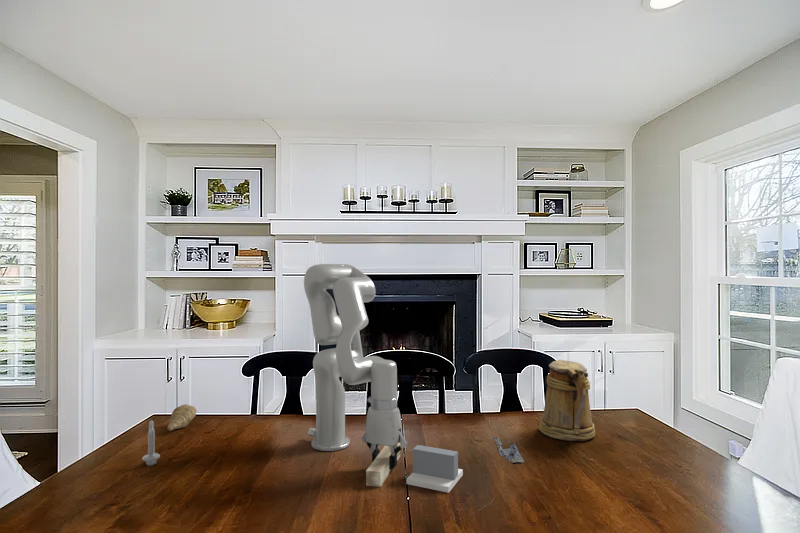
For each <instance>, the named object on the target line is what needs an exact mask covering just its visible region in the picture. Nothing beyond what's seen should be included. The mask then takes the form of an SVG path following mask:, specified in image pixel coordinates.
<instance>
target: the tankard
mask: <svg viewBox="0 0 800 533" xmlns="http://www.w3.org/2000/svg"><path fill="white" fill-rule="evenodd" d="M548 367H549V373H548V374H547V376H546V385H547V386H546V393H545V400H544V406H543V414H542V417H541V419H540V422H539V426H538V430H539V431H540V432H541V433H542V434H543V435H544V436H547V437H549V438H552V439H556V440H560V441H565V442H585V441H588V440H591V439H593V438H594V437H595V436H596V428H595V424H594V423H593V421H592V420H593V419H592V413H591V406H590V405H591V404H590V398H589V396H590V395H589V390H590V389H591V385H590V384H591V383H590V381H589V378H588V377H589V373H588V372H587V371H588V369H587V368H586V366H584V364H582V363H580V362H577V361H570V360H566V359H565V360H563V359H557V360H554V361H552V362H550V364H548Z"/></svg>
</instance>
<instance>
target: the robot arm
mask: <svg viewBox="0 0 800 533" xmlns="http://www.w3.org/2000/svg"><path fill="white" fill-rule="evenodd" d="M303 288H304V292H305V296H306V299H307V302H308V304H309V309H310V317H311V323H312V326H311V327H312V332H313V336H314V340H315V342H316V344H318V345H320V346H329V345H330V346H331V345H336V347H333V348H327V349H323V350H321V351H319V352H317V353H316V354H315V355H314V356H313V360H312V367H313V368H312V369H313V373H314V374H313V375H314V379H315V398H316V399H315V409H316V410H315V420H316V421H315V428H313V427H309V428H308V431H307V436H308V437H312V438H313V439H312V440H311V442H310V443H311V448H313V449H315V450H318V451H322V452H334V451H339V450H343V449H345V448H347V447H349V445H350V443H351V442H350V440H351V439H350V438H349V437H348V436H346V390H345V386H344V385H343V383H342V382H341V380H343V382H344V383H345V384H347V385H349V386H355V385H360V384H364V383H365V384H366V383H370V384H371V385H370V391H371V392H370V394H371V395H370V397H368V398H367V402H368V403H370V406H369V407H368V410H367V414H366V419H365V420H366V423H365V433H364V434H363V435H362V437H361V439H362V441H363V442H364V443H365V444H366V446H367V447H368V449H369V450H370V452H371V463H372V462H373V461H374V460H375V458H376V457H377V456H378V454H379V453H380V452H381V451H380V449H379V448H380V447H379V446H389V447H390V452H391V455H390V456H389V469H390V470H391V471H392V470H394V469H395V468H396V466H398V460H397V453H398V452H399V451H400V452H401V451H402V450H403V449H405V448H406V447H407V446H408V445H409V444H408V441H407V440H406V438H405V437H404V435H403V426H402V417H401V412H400V409H399V407H398V368H397V362H395V361H394V360H391V359H385V358H383V357H380V356H378V355H371V356H370V355H369V356H364V354H363V353H364V352H363V346H362V341H361V334H360V331H361V330H363V329H365V328H366V327H367V326H368V324H369V318H368V317H369V316H368V315H367V311H366V307H365V304H364V303H370V302H372V301H373V300H374V299H375V297H376V291H377V290H376V286H375V284H374V282H373V280H372V279H371V278H370V277H369V276H368V275H366V274H365V273H364V272H362V271H361V270H359V269H358V268H357V267H355V266H353V265H351V264H347V263H346V264H345V263H321V264H320V263H319V264H314V265H312V266H310V267H309V268H308V269H307V270H306V271H305V273H304V278H303ZM327 290H332V293H333V294H332V295H333V296H334V298H333V297H332V295H331V294H330V293H329V292H328V291H327ZM340 377H341V378H342V379H341V380H340ZM397 443H400V445H399V446H398V445H397Z"/></svg>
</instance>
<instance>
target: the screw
mask: <svg viewBox="0 0 800 533" xmlns="http://www.w3.org/2000/svg"><path fill="white" fill-rule="evenodd" d="M155 434H156V431H155V422H154V420H149V423H148V432H147V443H148V444H147V447H148V448H147V454H144V455H143V457H141V460H142V461H144V462H145V465H147V466H154V465H156V464H157V460H159V459H161V454H159V453H158V452H155V451H156V450H155V449H156V448H155V447H156V444H155V439H156V437H155V436H156V435H155Z"/></svg>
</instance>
